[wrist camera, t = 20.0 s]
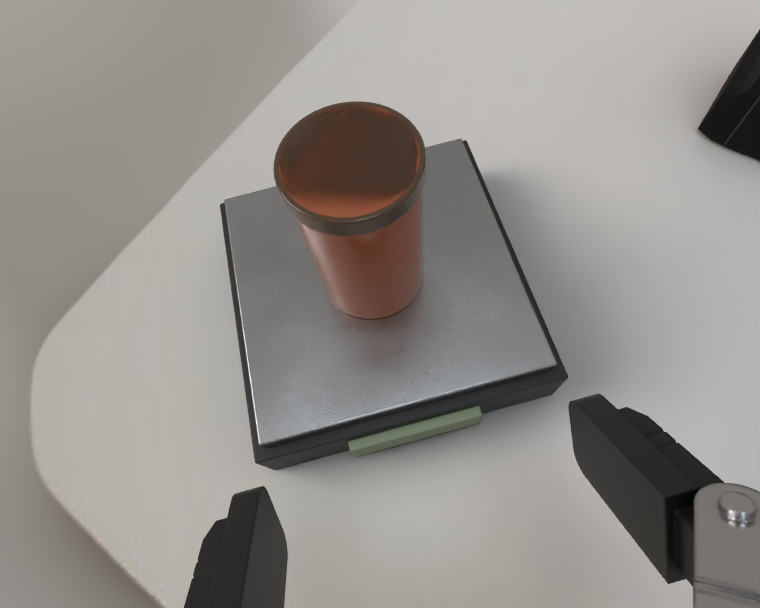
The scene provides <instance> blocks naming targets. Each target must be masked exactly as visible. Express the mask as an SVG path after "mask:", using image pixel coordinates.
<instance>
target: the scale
mask: <svg viewBox="0 0 760 608" xmlns="http://www.w3.org/2000/svg"><path fill="white" fill-rule="evenodd" d="M463 144H464V146H465V148H466V151H467V153H468V155H469V158H470V160H471V162H472V165H473V167H474V169H475V172H476V174H477V176H478V179H479V181H480V183H481V186H482V188H483V191H484V193H485V195H486V198H487V200H488V202H489V205H490V207H491V209H492V212H493V214H494V216H495V219H496V221H497V223H498V226H499V228H500V230H501V233H502V235H503V238H504V240H505V242H506V245H507V247H508V249H509V252H510V254H511V256H512V259H513V261H514V263H515V266H516V268H517V270H518V273H519V275H520V277H521V280H522V282H523V284H524V287H525V289H526V292H527V294H528V296H529V299H530V301H531V303H532V306H533V308H534V310H535V313H536V315H537V317H538V320H539V322H540V324H541V327H542V329H543V331H544V334H545V336H546V338H547V341H548V343H549V346H550V348H551V350H552V353H553V355H554V357H555V360H556V362H557V365H556V366H555V367H554V369H553V370H549V371H546V372H542V373H538V374H535V375H531V376H527V377H524V378H520V379H516V380H513V381H509V382H505V383H502V384H498V385H494V386H491V387H487V388H483V389H480V390H476V391H472V392H469V393H465V394H461V395H458V396H454V397H450V398H447V399H443V400H439V401H436V402H432V403H428V404H425V405H421V406H417V407H414V408H410V409H406V410H403V411H399V412H395V413H392V414H388V415H384V416H381V417H377V418H373V419H370V420H366V421H362V422H359V423H355V424H351V425H348V426H344V427H340V428H337V429H333V430H329V431H326V432H322V433H318V434H315V435H311V436H307V437H304V438H300V439H296V440H293V441H289V442H285V443H282V444H278V445H274V446H271V447H267V448H264V447H262V446H259V443H258V436H257V429H256V422H255V415H254V408H253V401H252V394H251V387H250V379H249V372H248V365H247V358H246V351H245V344H244V337H243V330H242V323H241V316H240V309H239V302H238V295H237V288H236V281H235V274H234V267H233V260H232V253H231V245H230V238H229V231H228V224H227V217H226V210H225V203H222V204H220V209H221V217H222V224H223V231H224V239H225V246H226V253H227V261H228V268H229V275H230V283H231V290H232V297H233V305H234V312H235V319H236V327H237V334H238V341H239V348H240V356H241V363H242V370H243V378H244V385H245V392H246V400H247V407H248V414H249V422H250V429H251V436H252V444H253V451H254V458H255V463H257V464H260V465H262V466H265V467H268V468H271V469H274V470H277V469H281V468H285V467H288V466H292V465H296V464H299V463H303V462H307V461H310V460H314V459H318V458H321V457H325V456H329V455H332V454H336V453H340V452H343V451H347V450H350V452H351V453H352V454H353V455H354V456H355V457H357V456H361V455H365V454H368V453H372V452H375V451H379V450H383V449H386V448H390V447H394V446H397V445H401V444H405V443H408V442H412V441H416V440H419V439H423V438H426V437H430V436H434V435H437V434H441V433H445V432H448V431H452V430H456V429H459V428H463V427H467V426H470V425H474V424H478V423H479V421H480V419H481V417H482V413H486V412H489V411H493V410H497V409H500V408H504V407H508V406H511V405H515V404H518V403H522V402H526V401H529V400H533V399H537V398H540V397H544V396H548V395H551V394H553V393H554V392H555V391H556V390H557V389H558V388H559V387H560V386H561V384H562V383H563V382H564V381H565V380H566V379H567V378H568V375H567V373H566V371H565V368H564V366H563V364H562V361H561V359H560V357H559V354H558V352H557V350H556V348H555V345H554V343H553V341H552V338H551V336H550V334H549V331H548V329H547V327H546V324H545V322H544V320H543V317H542V315H541V313H540V310H539V308H538V306H537V303H536V301H535V299H534V296H533V294H532V292H531V289H530V287H529V285H528V282H527V280H526V278H525V276H524V273H523V271H522V269H521V266H520V264H519V262H518V259H517V257H516V255H515V252H514V250H513V248H512V245H511V243H510V241H509V238H508V236H507V234H506V231H505V229H504V227H503V224H502V222H501V220H500V217H499V215H498V213H497V211H496V208H495V206H494V204H493V201H492V199H491V197H490V194H489V192H488V190H487V187H486V185H485V183H484V180H483V178H482V176H481V173H480V171H479V169H478V166H477V164H476V162H475V159H474V157H473V155H472V152H471V150H470V148H469V145H468V143H467V141H466V140H465V141H463Z"/></svg>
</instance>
